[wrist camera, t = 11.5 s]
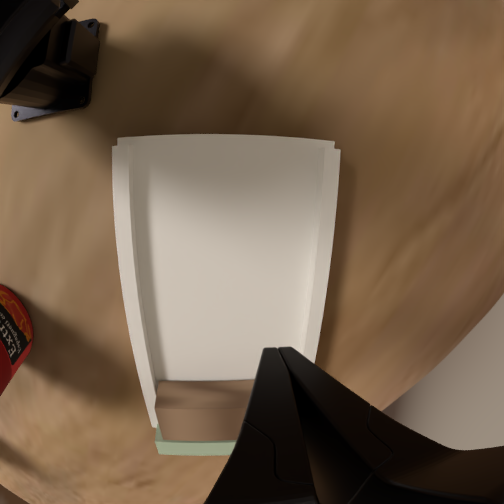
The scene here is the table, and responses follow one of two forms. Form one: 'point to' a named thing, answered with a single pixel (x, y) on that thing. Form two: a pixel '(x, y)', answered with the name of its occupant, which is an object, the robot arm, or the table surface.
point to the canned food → (12, 335)
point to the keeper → (201, 409)
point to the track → (221, 255)
